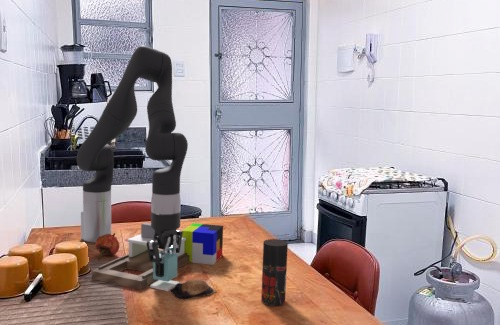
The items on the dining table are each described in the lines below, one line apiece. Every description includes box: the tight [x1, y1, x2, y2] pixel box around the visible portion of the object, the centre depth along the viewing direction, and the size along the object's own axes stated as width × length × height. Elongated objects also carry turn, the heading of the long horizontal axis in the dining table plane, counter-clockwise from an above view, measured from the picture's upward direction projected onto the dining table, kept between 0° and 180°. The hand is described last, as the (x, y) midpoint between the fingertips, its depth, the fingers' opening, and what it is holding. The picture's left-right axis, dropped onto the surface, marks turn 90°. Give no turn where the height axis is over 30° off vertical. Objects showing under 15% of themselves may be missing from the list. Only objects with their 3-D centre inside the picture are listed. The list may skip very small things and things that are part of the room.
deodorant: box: [260, 238, 289, 307], centre depth 118 cm, size 6×6×15 cm
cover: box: [127, 222, 186, 257], centre depth 143 cm, size 14×10×9 cm
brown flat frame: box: [91, 248, 190, 290], centre depth 138 cm, size 16×25×3 cm, turn 157°
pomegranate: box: [95, 232, 120, 260], centre depth 148 cm, size 7×7×10 cm
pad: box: [149, 279, 180, 292], centre depth 126 cm, size 6×6×1 cm
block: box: [153, 253, 178, 282], centre depth 126 cm, size 4×4×6 cm
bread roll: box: [169, 278, 217, 301], centre depth 123 cm, size 11×8×4 cm
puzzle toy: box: [182, 222, 224, 266], centre depth 149 cm, size 10×10×10 cm
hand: (165, 273), depth 126 cm, fingers closed on block, 4 cm apart
